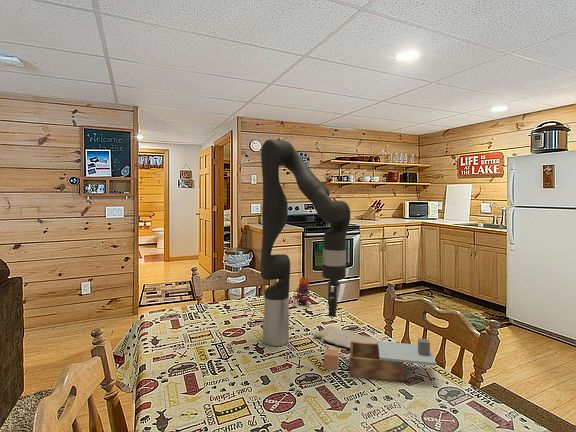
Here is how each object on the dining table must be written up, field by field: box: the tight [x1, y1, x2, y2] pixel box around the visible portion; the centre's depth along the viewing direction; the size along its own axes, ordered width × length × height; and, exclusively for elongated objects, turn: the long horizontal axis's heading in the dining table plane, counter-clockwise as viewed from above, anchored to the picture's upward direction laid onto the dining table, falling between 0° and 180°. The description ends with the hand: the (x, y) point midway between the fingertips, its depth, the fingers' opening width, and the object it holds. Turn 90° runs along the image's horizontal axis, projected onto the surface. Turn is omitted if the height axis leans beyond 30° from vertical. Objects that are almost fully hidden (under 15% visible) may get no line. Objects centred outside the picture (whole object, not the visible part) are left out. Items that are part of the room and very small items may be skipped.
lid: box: [378, 337, 437, 366], centre depth 109 cm, size 16×12×5 cm
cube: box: [323, 348, 340, 370], centre depth 115 cm, size 4×4×4 cm
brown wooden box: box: [348, 342, 405, 383], centre depth 112 cm, size 16×12×6 cm
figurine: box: [291, 275, 311, 307], centre depth 175 cm, size 8×9×15 cm
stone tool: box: [312, 325, 380, 349], centre depth 132 cm, size 13×4×25 cm
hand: (333, 311), depth 114 cm, fingers open, 8 cm apart
